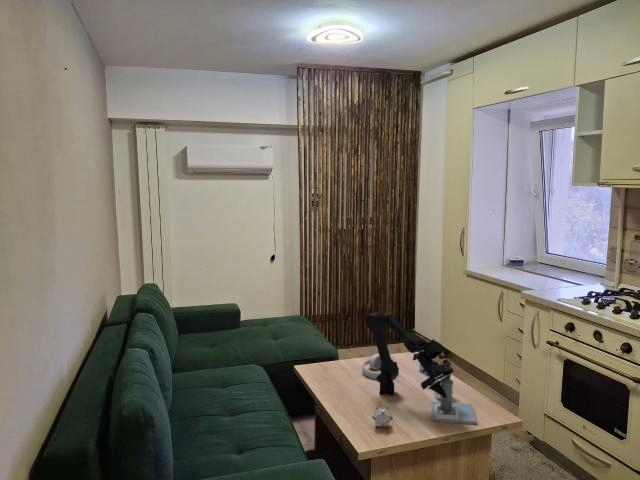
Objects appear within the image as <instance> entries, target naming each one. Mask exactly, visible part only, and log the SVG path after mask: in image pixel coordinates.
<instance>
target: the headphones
mask: <svg viewBox="0 0 640 480" xmlns="http://www.w3.org/2000/svg"><path fill="white" fill-rule="evenodd" d="M390 357H391V360H392V361H393V362H396V359H395V358H393V357H392V355H391V354H390ZM367 365H369V367H370V368H371V369H373V370H378V369H379V370H380V366H381V359H380V356H379V353H374V354H373V355H371V356H370V357H369V360H366V361H365V362H363V364H362V365H361V371H362V374H363V376H365V377H367V378H369V379H372V380H373V379H374V380H377V378H376V377H377V376H378V375H380V374H381V371H380V372H378V371H377V372H376V371H372V370H369V369H368V368H366V366H367Z"/></svg>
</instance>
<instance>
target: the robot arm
mask: <svg viewBox="0 0 640 480" xmlns="http://www.w3.org/2000/svg"><path fill="white" fill-rule="evenodd" d="M365 324H366V327H367V328H368V329H369V331H371V332H372V335H373V338H374V341H375V345H376V348H377V349H376V350H377V352H378V354H379V356H380V359H381V366H380V368H379V371H380V372H381V374H380V375H378V376H377V377H376V378H377V379H376V381H377V382H378V383H379V393H378V394H379V395H380V396H381V395H382V396H393V395H394V394H395V382H394V380H396V379H397V377H398V376H399V372H400V368H399V367H398V362H397V361H395V362H393V361H392V360H391V357H392V356H391V357H390V355H391V354H390V351H389V347H388V344H387V340H386V337H385V335H384V334H385V333H384V325H386V326H387V327H388V328H389V329H390V330H391V331H392V332H393V333H395V334H396V336H397V337H398V338H400V339H401V340H402V342H403V345H404V347H405V348H406V349H407V351H408V352H409V353H410V354H413V356H412V357H413V358H412V360H413V362H414V361H418V363H419V365H420V364H421V366H422V367H423V369H424V370H422V371H423V372H426V373H427V375H428V376H429V377H428V376H427V377H428V378H426V379H425V380H423V381H422V382H421V383H420V387H421V388H422V390H425V389H428V390H430V391H433V392H434V391H435V392H436V393H438V394H440V395H441V396H443V397H444V398H446V397H447V396H446V394H445V392H444V390H443V389H442V387H441V385H440V383H441V381H437V380H439V379H440V380H442V379H450V380H451V378H450V377H451V376H452V374H453V372H455V370H454V368H453V367H452V363H451V361H450V359H447V358H446V359H444V360H442V362H441V363H439V362H438V361H436V360H435V359H436V358H437V357H439V356H440V355H441V354H443V353H444V352H445V351H444V350H445V349H444V346H443V345H442V344H441V342H439V341H436V339H431V340H430V341H429V342H427V341H424V340H423V339H422V338H421V337H419V336H418V335H417V334H414V333H412V332H410V331H409V330H408V329H406V327H405V326H404V325H402V324H401V322H399V321H398V320H397V319H396V318H395V317H394V315H393V314H392V313H380V312H374V313H370V314H367V315H366V316H365ZM433 359H434V360H435V362H434V361H433ZM435 377H436V378H435ZM453 394H454V391H453Z"/></svg>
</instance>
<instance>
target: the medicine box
mask: <svg viewBox="0 0 640 480" xmlns="http://www.w3.org/2000/svg"><path fill="white" fill-rule="evenodd" d="M433 361H434V362H436V360H435V359H433ZM422 370H424V369H423V367H422V366H421V364H420V363H419V371H418V372H420V373H422V374H423V375H425V376H427V377H428V378H429V376H428V375H427V373H426V372H423V371H422Z"/></svg>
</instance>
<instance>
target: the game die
mask: <svg viewBox="0 0 640 480" xmlns="http://www.w3.org/2000/svg"><path fill="white" fill-rule="evenodd" d="M375 409H376V410H375V411H374V414H373V415H372V416H371V418H372V419H373V420H374V422H375V425H376V427H375V428H376V429H377V428H380V427H382V428H383V427H384V428H386V427H387V429H389V428H390V427H389V425H390V423H391V420H394V419H393V418H394V417H392V415H391V414H390V412H389V410H388V409H389V407H388V406H387V407H386V408H378V407H377V406H375Z"/></svg>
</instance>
